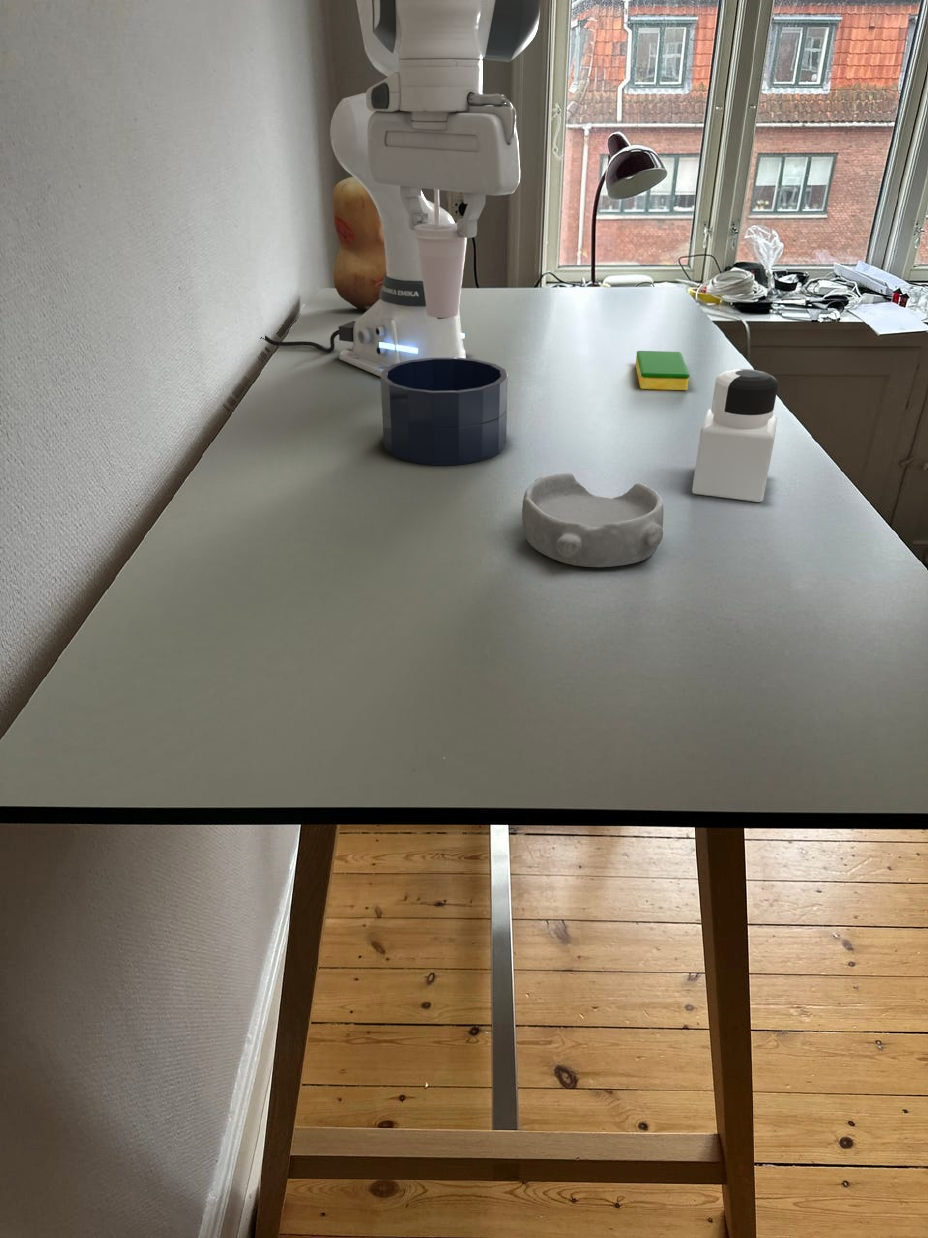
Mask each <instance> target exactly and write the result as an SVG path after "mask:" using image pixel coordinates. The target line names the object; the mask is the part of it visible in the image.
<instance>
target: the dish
mask: <svg viewBox="0 0 928 1238" xmlns="http://www.w3.org/2000/svg"><path fill="white" fill-rule="evenodd" d="M664 511H665V510H664V502H663V499H662V497H661V495H660V494H659V493H658V492H657V491H656V490H655V489H653V488H651V487H649V486H648V485H646V484H643V483H641V482H640V483H639V482H637V483H634V485H633V486H632V487H631V488H630V489H628V491H627V492H625V493H624V494H622V495H619V496H616V497H613V498H612V497H611V498H610V497H603V496H599V495H595V494H593V493H591V492H590V491H589V490H588V489H586V488H585V487H584V486H583V485H582V484H581V483H580V482H579V481H578V480H577V479H576V477H575V475H574V474H572V473H567V472H564V473H556V474H550V475H546V476H540V477H538V478H537V479H535V480H534V482H532V483H531V484H530V485H529V486H528V487H527V488H526V490H525V491H524V495H523V499H522V507H521V524H522V530H523V533H524V537H525V539H526V540H527V542H528V544H529V545H530V546H531V547H532V548H533V549H534V550H536V551H537V552H539V553H541V554H543V555H544V556H546V557H548V558H550V559H553V560H555V561H558V562H560V563H564V564H567V565H571V566H577V567H586V568H611V567H618V566H626V565H632V564H636V563H640V562H642V561H644V560H647V559H648V558H650V557H651V556H652V555H653V554H654V553H655V552H656V551H657V548H658V547H659V545H660V544H661V543H662V540H663V537H664V529H663V528H664V513H665V512H664Z"/></svg>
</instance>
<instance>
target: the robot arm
mask: <svg viewBox="0 0 928 1238" xmlns="http://www.w3.org/2000/svg"><path fill="white" fill-rule="evenodd" d="M355 1H356V6H357V13H358V18H359V23H360V30H361V35H362V41H363V48H364V51H365V54H366V56H367V58H368V60H369V62H370V63H371V64H372V66H373V67H374V68H375V69H376V70H377V71H378V72H379V73H381V74H383V75H384V76H386V78H384V79H383V80H381V81H379V82H378V83H377V82H376V84H373V85H372V86H370V87H369V88H367V90H366V91H365V92H363V93H359V94H354V95H351V96H347V97H344V98H342V99H341V100H340V102H339V103H338V105H337V106H336V108H335V110H334V112H333V114H332V118H331V122H330V129H329V134H330V135H329V136H330V137H329V138H330V144H331V147H332V151H333V154H334V156H335V158H336V160H337V161H338V163H339V164H340V166H341V167H342V168H343V169H344V170H345V171H346V172H347V173H348V174H350V175H351V177H355V178H356V179H357V180H358V181H359V182H360V183H361V184H362V185H363V186H364V188H365V189H366V190H367V192H368V193H369V195H370V196H371V198H372V200H373V202H374V204H375V206H376V208H377V210H378V213H379V216H380V219H381V223H382V229H383V236H384V245H385V257H386V275H385V276H384V278H379V279H375V281H381V283H378V284H376V285H375V287H378V286H382V287H381V291H380V295H379V298H380V299H379V300H378V301H377V302H376V303H375V304H374V305H373V306H372V307H371V308H370V309H369V310H365V312H364V313H363V314H362V315H360V317H358V318H357V319H356V320H352V321H349V322H347V323H344V324H341V325H339V326H338V329H337V330H335V331H334V332H332V333H331V335H330V338H329V343H330V347H328V348H327V347H324V346H323V345H321V344H320V343H318V342H317V343H316V342H315V341H303V340H302V341H301V340H300V341H299V340H298V341H277V340H273V339H272V338H270V337H269V336H267V335H266V334H264V335H265V339H264V338H262V337H261V338H260V340H261V339H262V340H264V341H265V342H267V343H268V344H269V345H273V346H277V347H279V346H280V347H296V346H297V347H299V346H300V347H301V346H302V347H303V346H305V347H308V346H309V347H314V348H316V349H318V350H321V351H323V352H325V353H332V352H334V351H335V347H336V345H335V343H336V342H335V338H336V337H337V336H338V337H339V338H338V340H339V341H340V342H341V341H342V342H349V343H352V346H349V347H348V348H346V349H343V350H342V351H340V352H339V353H338V354H339V355H338V359H339V360H341V361H343V362H345V363H348V364H350V365H352V366H355V367H357V368H359V369H361V370H364V371H366V372H367V373H370V374H373V375H375V376H378V377H380V378H381V372H382V371H383V370H384V369H386V368H388V367H389V366H391V365H393V364H397V363H401V362H405V361H408V360H416V359H424V358H446V357H454V358H455V357H456V358H466V357H467V356H466V350H465V348H464V342H463V339H465V333H463V332H462V325H461V316H460V311H459V312H458V315H457V316H455V317H448V318H437V317H431V316H428V315H427V308H426V301H425V293H424V286H423V279H422V271H421V264H420V256H419V249H418V241H417V237H415V236H414V234H415V232H414V227H415V226H416V225H419V224H425V223H435V219H434V202H432V201H430V200H428V199H427V198H426V197H425V196H424V194H423V191H422V190H423V189H427V190H428V189H429V190H434V189H436V190H439V191H447V192H456V193H462V194H463V195H462V196H463V204H464V205H466V207H465V210H464V213H463V216H462V218H460V219H456V222H455V220H454V218H453V217H452V215H451V214H450V213H449V212H448V211H446V209H444V208H442V207H441V206H439V223H457V228H458V229H457V235H458V236H459V237H465V238H467V239H471V238H475V237H476V236H477V234H478V220H479V219H480V216H481V214H482V212H483V209H484V208H485V206H486V203H487V196H506V195H512V194H514V193H515V191H516V190H517V188H518V187H519V185H520V180H521V166H520V163H521V162H520V148H519V147H520V146H519V139H518V131H517V110H516V107H514V105H513V103H512V102H511V100H510V99H508V98H507V96H506V95H505V94H503V93H500V92H499V93H497V92H496V93H491V94H490V93H484V92H483V59H484V60H487V61H495V62H496V61H497V62H505V63H510V62H512V61H513V60H514V59H515V58H517V56H519V55H520V54H521V53H522V52H523V51H524V50H525V49H526V48H527V47H528V45H529V44H530V43H531V42H532V41H533V39H534V38H535V36H536V33H537V31H538V29H539V23H540V16H541V15H540V14H541V0H355ZM505 105H507V106H505ZM466 359H467V358H466Z"/></svg>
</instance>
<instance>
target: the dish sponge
mask: <svg viewBox="0 0 928 1238" xmlns="http://www.w3.org/2000/svg"><path fill="white" fill-rule="evenodd" d="M684 359H685V358H684V356H683V354H682V352H680V351H662V350H661V351H660V350H637V351H636V357H635V368H636V374H637V379H638V383H639V388H640V389H642V390H660V391H661V390H662V391H663V390H664V391H687V390H688V389H689V382H690V373H689V370H688V368H687V365H686V362H685V360H684Z"/></svg>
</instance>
